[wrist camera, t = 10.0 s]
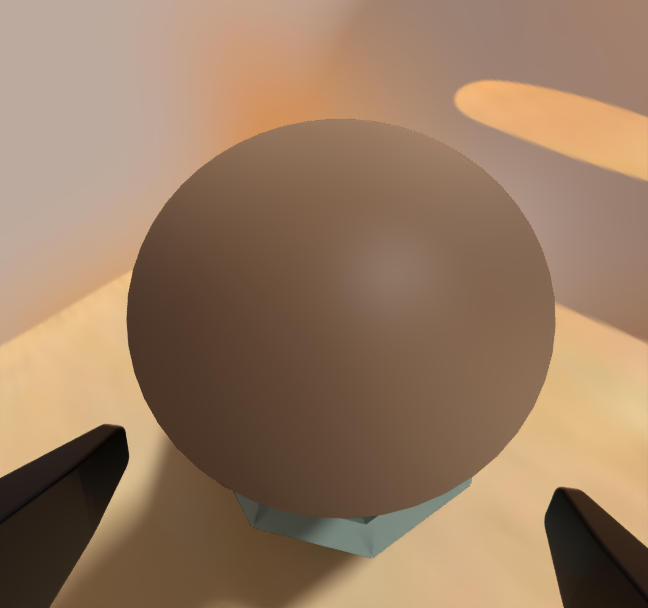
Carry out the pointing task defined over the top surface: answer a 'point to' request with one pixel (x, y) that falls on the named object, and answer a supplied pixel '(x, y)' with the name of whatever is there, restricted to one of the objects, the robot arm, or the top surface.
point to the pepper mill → (341, 318)
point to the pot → (345, 524)
